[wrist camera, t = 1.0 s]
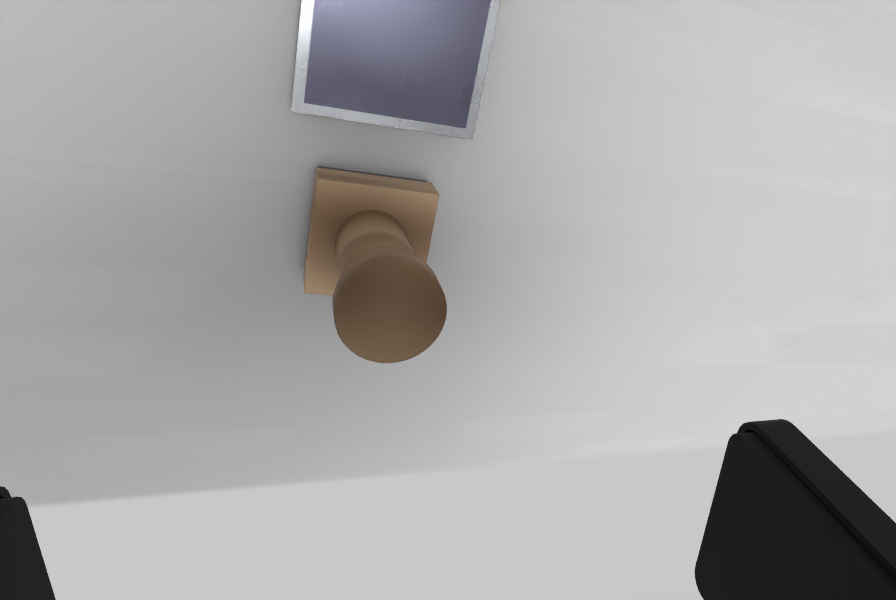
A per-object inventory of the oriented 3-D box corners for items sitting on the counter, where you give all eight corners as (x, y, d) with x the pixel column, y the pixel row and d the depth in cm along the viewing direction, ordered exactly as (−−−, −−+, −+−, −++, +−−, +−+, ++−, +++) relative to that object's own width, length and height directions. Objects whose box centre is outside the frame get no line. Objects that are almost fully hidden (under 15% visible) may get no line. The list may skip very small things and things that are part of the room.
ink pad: (465, 133, 30) (473, 141, 29) (290, 106, 28) (290, 112, 27) (503, -56, 27) (514, -57, 26) (311, -101, 25) (312, -105, 24)
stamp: (410, 280, 33) (448, 381, 25) (303, 270, 31) (308, 373, 23) (428, 179, 31) (477, 252, 23) (315, 163, 29) (325, 235, 21)
